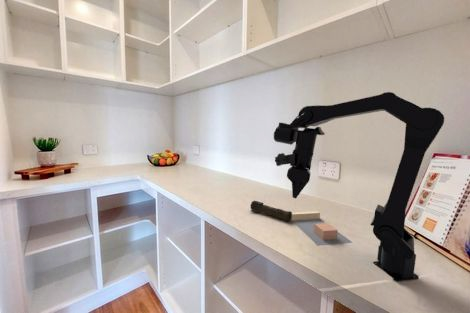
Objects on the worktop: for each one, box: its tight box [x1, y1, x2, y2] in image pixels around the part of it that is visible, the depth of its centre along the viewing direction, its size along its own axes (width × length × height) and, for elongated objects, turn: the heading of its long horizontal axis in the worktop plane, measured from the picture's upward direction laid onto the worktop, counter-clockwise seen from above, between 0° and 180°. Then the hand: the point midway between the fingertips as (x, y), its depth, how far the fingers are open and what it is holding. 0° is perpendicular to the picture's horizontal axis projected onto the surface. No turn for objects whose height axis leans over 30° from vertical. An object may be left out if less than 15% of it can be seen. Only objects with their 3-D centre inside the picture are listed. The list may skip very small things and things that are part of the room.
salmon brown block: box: [314, 222, 339, 240], centre depth 63 cm, size 5×5×3 cm
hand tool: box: [250, 200, 293, 223], centre depth 80 cm, size 19×4×5 cm, turn 47°
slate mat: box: [290, 210, 353, 247], centre depth 68 cm, size 18×12×3 cm, turn 10°
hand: (295, 193), depth 64 cm, fingers open, 9 cm apart
